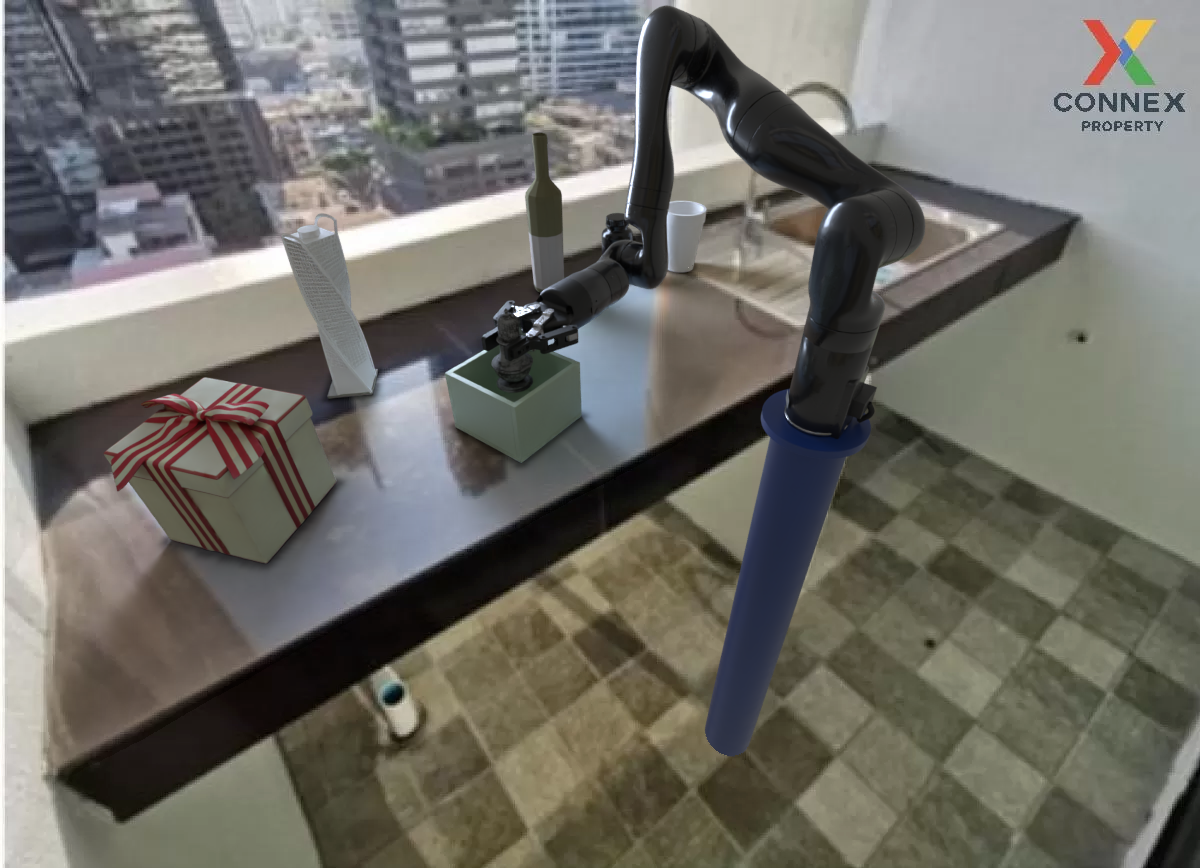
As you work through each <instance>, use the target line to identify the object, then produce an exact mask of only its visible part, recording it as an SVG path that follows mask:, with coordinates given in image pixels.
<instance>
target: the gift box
mask: <svg viewBox="0 0 1200 868" xmlns="http://www.w3.org/2000/svg"><path fill="white" fill-rule="evenodd" d="M161 405H163V407H161V408H159V409H158V410H157V411H156V412H154V413H153V414H152V415H151V416H149V417H148V418H147V419H146V420H144V421H143V422H142V423H141V424H139V425H138V426H137V427H136V428H134V429H133V430H132V431H130V432H128V433H127V434H126V435H125V436H124V437H122V438H120V439H119V440H118V441H116V442H115V443H114V444H113V445H111V446H110V447H109V448H108V449H106V450H105V451H104V452H103V455H104V457H105V459H106V460H107V461H108V463H109V464H110V467H111V473H112V476H113V480H114V483H115V487H116V488H115V489H116V492H120V491H121V490H123V489H124V488H125V487H126V486H127V485H128V483H129V485H130V486H131V487H132V489H133V490H134V492H135V493H136V494H137V496H138V497H139V499H140V500H141V501H142V502H143V505H145V507H146V508H147V510H148V511H149V512H150V514H151V515H152V516H153V518H154V519H155V521H156V522H157V523H158V525H159V526H160V528H161V529H162V530H163V532H164V533H165V534H166V536H167V537H168V539H169V540H170V541H174V542H177V543H181V544H185V545H188V546H193V547H197V548H200V549H204V550H206V551H212V552H217V553H221V554H224V555H228V556H233V557H237V558H240V559H244V560H249V561H251V562H252V561H253V562H257V563H261V564H268V563H269V562H270V561H271V560H272V559H273V558H274V556H275V555H276V554H277V553H278V552H279V551H280V549H281V548H282V547H283V546H284V545H285V543H286V542H287V541H288V540H289V539H290V538H291V537H292V536H293V534H294V533H295V532H296V531H297V530H298V529H299V528H300V526H301V525H302V524H303V523H304V522H305V521H306V519H307V518H308V517H309V516H310V515H311V513H313V511H314V510H315V509H316V508H317V506H318V505H319V504H320V503H321V502H322V500H323V499H325V497H326V496H327V495H328V494H329V492H330V491H331V490H332V489H333V487H334V486H335V485H336V484H337V478H336V476H335V474H334V472H333V469H332V467H331V464H330V462H329V460H328V457H327V454H326V451H325V450H324V447H323V444H322V442H321V439H320V437H319V435H318V433H317V430H316V427H315V425H314V423H313V420H312V417H313V415H314V413H313V410H312V409H311V406H310V403H309V400H308V399H307V397H306V395H305V394H300V393H295V392H288V391H282V390H277V389H271V388H265V387H262V386H256V385H250V384H245V383H239V382H233V381H226V380H223V379H217V378H212V377H202V378H201V379H199V380H198V381H197V382H195V383H194V384H193V385H191V386H190V387H188V388H187V389H186V390H185V391H183V392H182V393H180V394H178V393H171V394H167V395H163V396H161V397H158V398H153V399H149V400H145V401H143V402H141V403H140V406H142V407H143V408H144V409H149V408H152V407H153V408H154V407H156V406H161Z"/></svg>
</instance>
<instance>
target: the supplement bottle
mask: <svg viewBox="0 0 1200 868" xmlns="http://www.w3.org/2000/svg"><path fill="white" fill-rule="evenodd" d="M624 214H625V213H623V212H612V213H609V214H607V215H606V216H605V228H603V230H602V232H601V256H602V255H603V254H604V253H605V251H606V250H607V249H608V248H609V246H610V245H611V244H613V243H614V242H617V241H620V240H631V241H634V232H633V230H632V229H631V228H630V227H629V226H630V224H629V223H627V222H626V220H625V217H624Z"/></svg>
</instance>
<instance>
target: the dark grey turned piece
mask: <svg viewBox="0 0 1200 868" xmlns="http://www.w3.org/2000/svg"><path fill="white" fill-rule="evenodd" d="M508 311H509V310H508V309H507V308H505V309H504V312H505V313H502V314H500V315H499V316H498V318H497V327H498V334H499V335H498V336H497V338H496V340H497V342H498V343H499V346H500V354H498V355H497V356H495V358H494V359H493V360H492V367H493V369H495V372H496V373H497V375H498V376H499V378H498V380H497V387H498V388H499V389H500V390H502V391H504V392H508V393H518V392H522V391H525V390H527V389H528V388H530V387H531V385H532V384H533V378H532V376H531V375H529V372H530V370H531V366H532V364H533V358H532V356H531V355H529V354H528V353H525V354H524V355H522V356H521V357H519V358H517V359H514V360H512V361H508V360H506V359H505V355H504V347H505V346H506V345H507V344H509V343H511V342H512V341H514V340H516V339H517V338H519V337H521V336H522V335H521V334H520V333H519V326H518V319H517V317H516V315H514V314H513V313H509V312H508Z"/></svg>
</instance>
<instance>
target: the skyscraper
mask: <svg viewBox="0 0 1200 868" xmlns="http://www.w3.org/2000/svg"><path fill="white" fill-rule="evenodd" d="M321 218H328V219H331V220H332V221H333V228H334V229H333V230H334V232H333V231H332V230H329V229H325V228H323V227H320V226H319V225H318V221H319V219H321ZM296 231H297V232H294V233H291V234H289V233H282V234H281V241H282V244H283V247H284V250H285V253H286V256H287V260H288V262H289V266H290V268H291V271H292V273H293V276H294V280H295V282H296V284H297V286H298V290H299V292H300V294H301V296H302V299H303V301H304V303H305V305H306V307H307V309H308V311H309V312H310V315H311V316H312V318H313V320H314V322H315V323H316V327H317V331H318V334H319V335H318V336H319V339H320V343H321V347H322V350H323V354H324V357H325V360H326V365H327V368H328V370H329V373H330V376H331V380H332V381H331V384H330V386H329V390H328V392H327V399H337V398H338V399H340V398H348V397H360V396H373V395H374V392H375V386H376V382H377V379H378V373H379V369H378V368H375V365H374V361H373V358H372V354H371V351H370V348H369V345H368V342H367V339H366V337H365V333H364V331H363V330H362V327H361V325H360V323H359V321H358V319H357V316H356V314H355V313H354V311H353V308H352V292H351V283H350V276H349V270H348V267H347V261H346V257H345V253H344V249H343V246H342V243H341V239H340V236H339V232H338V231H339V230H338V220H337V218H335V217H334V216H332V215H330V214H328V213H323V212H321V213H317V214H316V216H315V218H314V224H307V225H303V226H300V227H298V228H297V230H296Z"/></svg>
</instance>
